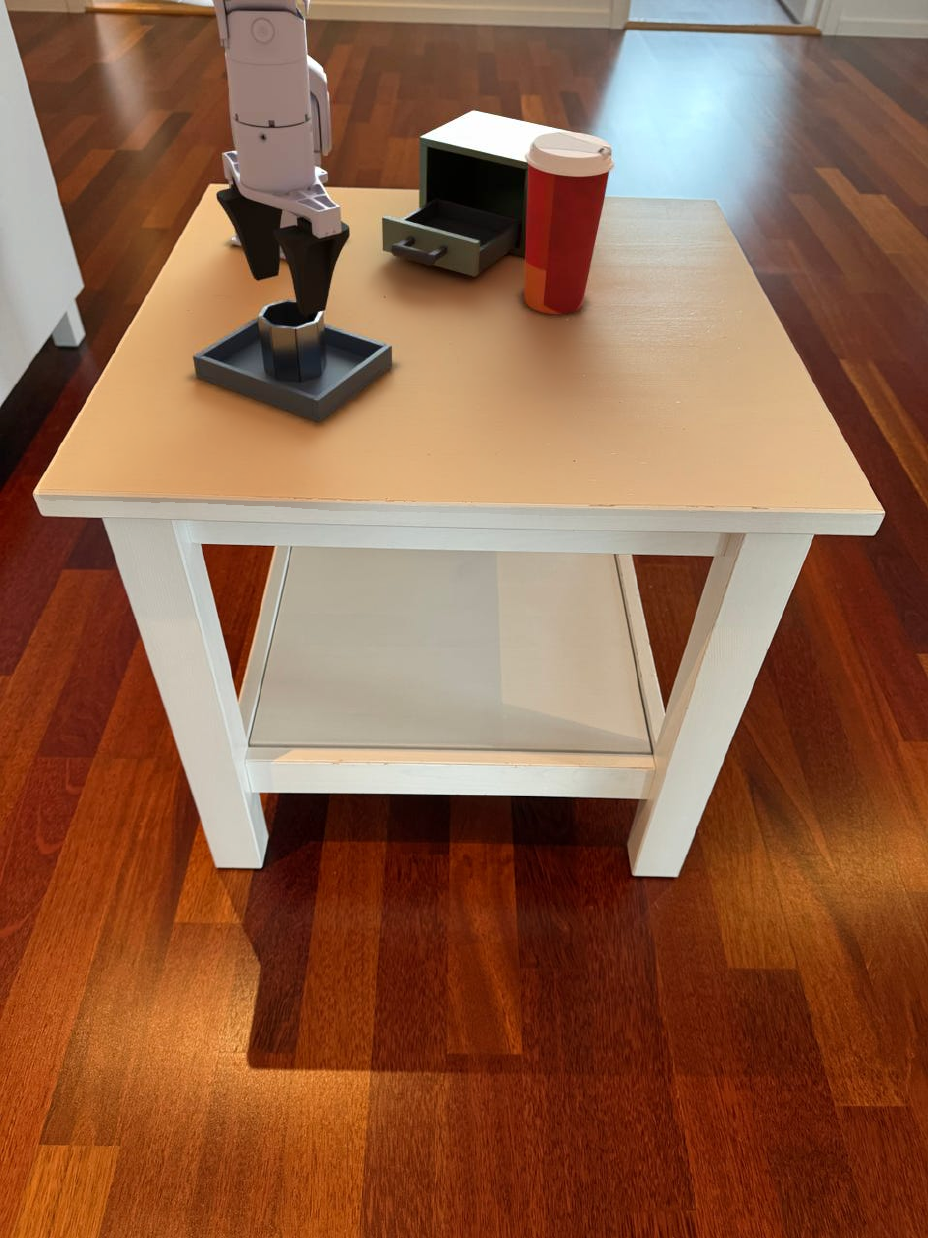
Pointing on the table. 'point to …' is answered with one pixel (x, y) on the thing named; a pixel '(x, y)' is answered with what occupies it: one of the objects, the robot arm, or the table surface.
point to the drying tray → (315, 399)
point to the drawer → (451, 236)
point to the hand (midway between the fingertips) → (288, 293)
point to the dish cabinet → (480, 165)
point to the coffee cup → (563, 217)
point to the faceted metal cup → (292, 342)
